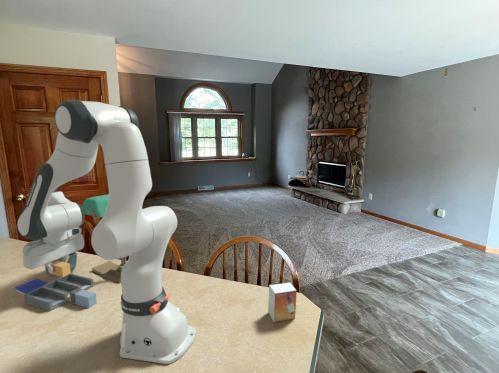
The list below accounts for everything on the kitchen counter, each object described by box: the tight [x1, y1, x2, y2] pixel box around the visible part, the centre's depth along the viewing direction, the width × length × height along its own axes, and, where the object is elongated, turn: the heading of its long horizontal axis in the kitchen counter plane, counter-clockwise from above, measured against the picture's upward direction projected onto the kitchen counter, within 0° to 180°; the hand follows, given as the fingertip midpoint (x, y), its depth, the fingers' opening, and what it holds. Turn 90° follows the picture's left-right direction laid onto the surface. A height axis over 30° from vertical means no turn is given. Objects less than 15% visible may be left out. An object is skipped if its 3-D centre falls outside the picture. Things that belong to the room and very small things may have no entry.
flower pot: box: [57, 251, 78, 273], centre depth 118 cm, size 9×9×9 cm
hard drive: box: [13, 278, 49, 295], centre depth 106 cm, size 2×8×12 cm
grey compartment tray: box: [23, 273, 94, 312], centre depth 102 cm, size 13×17×3 cm
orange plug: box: [44, 260, 72, 278], centre depth 101 cm, size 9×3×4 cm, turn 70°
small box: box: [267, 282, 298, 323], centre depth 91 cm, size 8×6×10 cm
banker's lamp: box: [81, 193, 127, 284], centre depth 117 cm, size 16×21×35 cm
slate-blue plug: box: [70, 288, 98, 309], centre depth 97 cm, size 9×3×4 cm, turn 70°
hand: (58, 269), depth 101 cm, fingers closed on orange plug, 3 cm apart
